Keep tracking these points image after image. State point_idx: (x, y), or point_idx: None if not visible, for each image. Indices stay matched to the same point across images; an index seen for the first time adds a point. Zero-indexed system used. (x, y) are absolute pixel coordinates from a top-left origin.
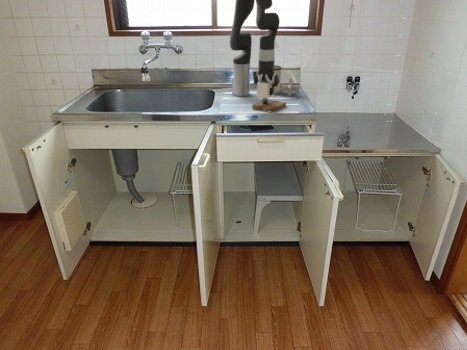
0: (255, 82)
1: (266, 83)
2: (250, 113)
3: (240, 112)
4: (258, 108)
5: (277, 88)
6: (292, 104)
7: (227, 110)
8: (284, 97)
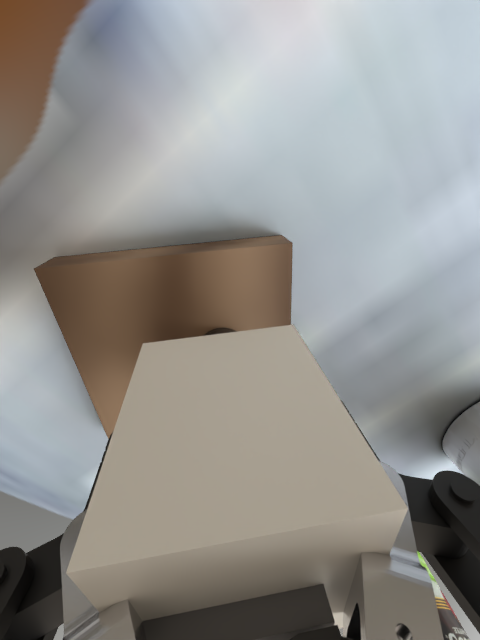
0: (457, 506)
1: (143, 576)
2: (202, 72)
3: (317, 21)
4: (217, 244)
5: None
6: None
7: None
8: None
